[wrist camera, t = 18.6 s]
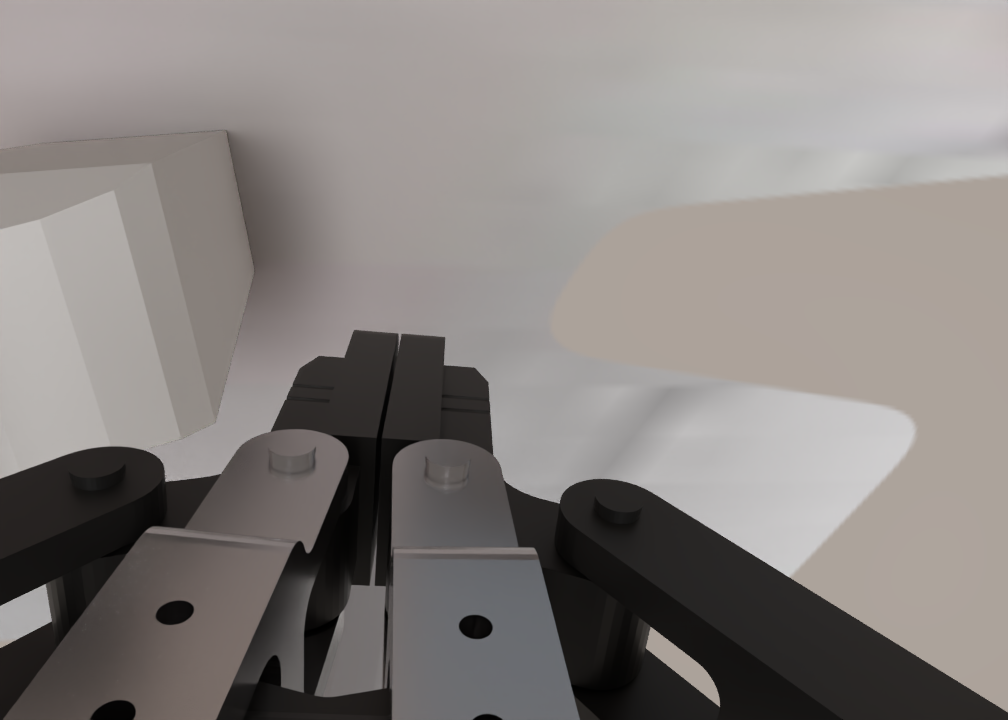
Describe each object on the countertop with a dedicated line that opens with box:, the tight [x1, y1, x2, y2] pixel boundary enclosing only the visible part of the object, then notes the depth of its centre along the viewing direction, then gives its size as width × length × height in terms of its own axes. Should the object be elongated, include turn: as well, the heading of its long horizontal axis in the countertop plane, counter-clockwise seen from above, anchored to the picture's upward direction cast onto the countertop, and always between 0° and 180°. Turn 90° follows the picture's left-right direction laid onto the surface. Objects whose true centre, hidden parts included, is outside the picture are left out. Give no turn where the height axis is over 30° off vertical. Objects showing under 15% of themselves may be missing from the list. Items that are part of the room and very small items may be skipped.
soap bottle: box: [0, 130, 255, 478], centre depth 25 cm, size 12×10×26 cm
